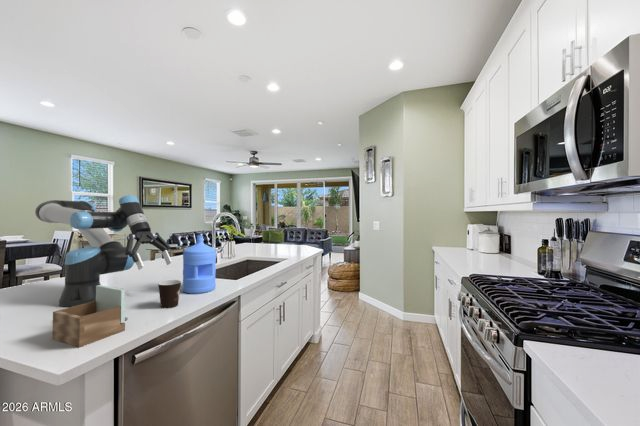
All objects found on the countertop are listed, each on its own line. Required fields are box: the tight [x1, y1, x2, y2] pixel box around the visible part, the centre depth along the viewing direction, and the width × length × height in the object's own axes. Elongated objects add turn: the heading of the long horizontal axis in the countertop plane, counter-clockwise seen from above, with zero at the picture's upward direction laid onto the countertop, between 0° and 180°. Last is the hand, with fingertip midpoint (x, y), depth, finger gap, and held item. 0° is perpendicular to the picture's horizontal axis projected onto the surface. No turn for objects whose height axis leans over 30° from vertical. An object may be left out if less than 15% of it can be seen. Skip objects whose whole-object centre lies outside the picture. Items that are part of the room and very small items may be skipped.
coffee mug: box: [157, 279, 182, 309], centre depth 119 cm, size 12×9×10 cm
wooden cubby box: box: [52, 301, 126, 348], centre depth 90 cm, size 14×13×8 cm
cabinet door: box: [96, 285, 129, 323], centre depth 96 cm, size 2×14×11 cm, turn 68°
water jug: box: [182, 235, 217, 295], centre depth 142 cm, size 16×16×28 cm
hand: (156, 265), depth 122 cm, fingers open, 13 cm apart
